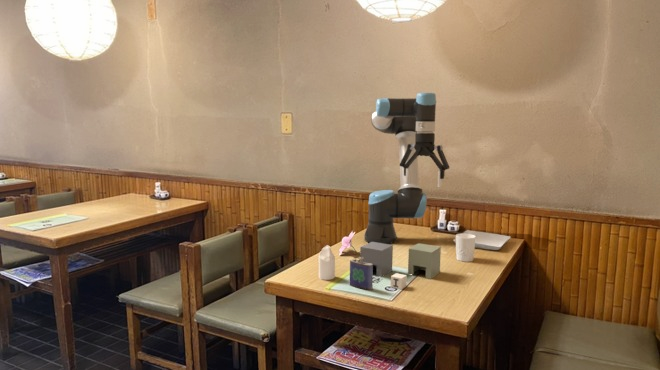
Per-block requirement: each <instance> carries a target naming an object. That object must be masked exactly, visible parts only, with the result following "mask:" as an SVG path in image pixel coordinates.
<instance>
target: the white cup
mask: <svg viewBox="0 0 660 370" xmlns="http://www.w3.org/2000/svg"><path fill="white" fill-rule="evenodd" d="M455 238H456V243H455V253H456V254H455V255H456V257H455V258H456V260H457V261H459V262H465V263H466V262H467V263H469V262H473V261H474V256H475V255H474V254H475V249H476V248H475V240H476V236H475V235H472V234H462V233H457V234H455Z"/></svg>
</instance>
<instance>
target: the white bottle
mask: <svg viewBox="0 0 660 370" xmlns="http://www.w3.org/2000/svg"><path fill="white" fill-rule="evenodd" d="M335 273H336V256H335V254H334V253H333V251H332V247H331V246H330V245H328V244H327V245H325V246H324V247H323V248H321V251H320V252H319V253H318V279H320V280H323V281H324V280H325V281H330V280H334V279H335V278H336V274H335Z"/></svg>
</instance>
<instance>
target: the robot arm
mask: <svg viewBox="0 0 660 370" xmlns="http://www.w3.org/2000/svg"><path fill="white" fill-rule="evenodd" d="M436 105H437V95H436V93H435V92H418V93H417V94H416V98H410V97H409V98H407V97H406V98H392V97H391V98H390V97H389V98H387V97H383V98H377V100H376V104H375V111H374V112H373V113H372V115H371V120H370V121H371V125H372V127H373V128H374V129H375V130H377V131H378V132H380V133H382V134H391V135H393V134H394V135H395V139H396V140H397V141H398V153H399V154H398V155H399V156H398V158H399V178H400V179H399V181H400V182H399V183H400V187H399V188H398V189H397V192H396V193H395V191H394V190H392V189H383V190H376V191H373V192H371V193H370V194H369V196H368V202H367V203H368V222H367V227H366V230H365V233H364V239H363V240H364V241H365V242H367V243H370V242H377V243H383V244H389V245H390V244H394V243H396V242H397V237H398V236H397V233H396V230H395V226H394V219H413V220H414V219H422V218H423V217H424V216H425V213H426V210H427V199H428V198H427V197H428V196H427V193H424V192H423V188H421V186H420V182H419V180H420V179H419V163H418V157H423V156H424V157H429V158H430V159H431V160H432V161H433V162H434V163H435V165H436V166H437V168H438V169H439V170H438V171H437V188H441V187H443V184H442V183H443V180H444V179H445V173H446V172H445V171H446V170H449V169H450V165H449V163H448V160H447V158H446V156H445V153H444V150H443V145H442V144H439V145H435V139H436V138H435V136H436V135H435V131H436V111H437V110H436V109H437V108H436ZM435 151H436V152H437V154H438V157H439V158H440V159H439V158H438V157H437V155H436V153H435Z"/></svg>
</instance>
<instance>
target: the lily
mask: <svg viewBox="0 0 660 370" xmlns="http://www.w3.org/2000/svg"><path fill="white" fill-rule="evenodd" d="M353 231H354V230H351V232H350V233H349V235H348V236H344V237H342V239H341V247H340V248H339V250H338V252H339V254H338V256H339V257H340V256H341V254H342V253H343V251H344V250H345V249H347V248H350V247H352V249H353V250H354V252H355V253H356V254H357V253H358V252H357V250H356V249H355V247H354V246H353V243H352V238H353V236H354V235H355V233H356V231H354V232H353Z"/></svg>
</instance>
